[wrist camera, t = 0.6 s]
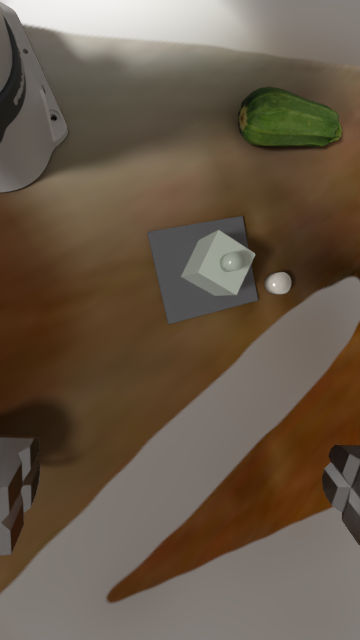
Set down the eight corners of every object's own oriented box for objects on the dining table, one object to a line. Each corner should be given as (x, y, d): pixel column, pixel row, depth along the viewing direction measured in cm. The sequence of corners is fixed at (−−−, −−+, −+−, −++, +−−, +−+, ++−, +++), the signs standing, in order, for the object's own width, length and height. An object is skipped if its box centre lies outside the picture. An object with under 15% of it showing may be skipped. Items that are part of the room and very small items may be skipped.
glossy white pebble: (262, 275, 50) (271, 274, 48) (279, 271, 51) (289, 270, 49) (266, 296, 51) (275, 296, 48) (283, 291, 52) (292, 291, 49)
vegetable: (260, 79, 38) (372, 101, 45) (235, 86, 44) (337, 105, 51) (249, 143, 42) (354, 156, 49) (226, 142, 48) (323, 153, 54)
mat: (147, 232, 44) (148, 231, 43) (240, 217, 48) (242, 216, 47) (168, 323, 45) (169, 323, 45) (256, 300, 50) (257, 300, 49)
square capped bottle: (181, 276, 45) (205, 270, 36) (198, 240, 45) (226, 225, 36) (214, 295, 47) (245, 294, 38) (231, 260, 47) (265, 251, 38)
